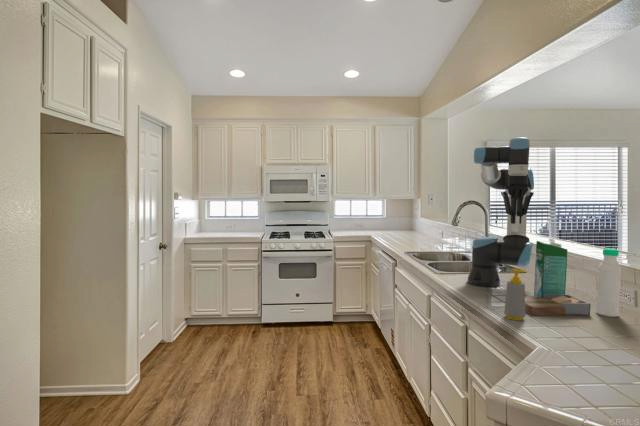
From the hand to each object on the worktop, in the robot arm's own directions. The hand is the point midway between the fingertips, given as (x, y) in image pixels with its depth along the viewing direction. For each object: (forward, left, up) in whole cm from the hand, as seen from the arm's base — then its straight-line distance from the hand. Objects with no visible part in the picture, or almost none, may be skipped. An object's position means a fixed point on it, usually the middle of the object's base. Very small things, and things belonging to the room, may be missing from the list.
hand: (515, 231), depth 164 cm
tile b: (+13, +16, -26) cm, 33 cm away
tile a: (+13, +13, -27) cm, 33 cm away
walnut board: (+13, +4, -29) cm, 32 cm away
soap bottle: (+24, -11, -30) cm, 40 cm away
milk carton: (-1, +16, -30) cm, 34 cm away
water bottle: (+18, +27, -30) cm, 44 cm away
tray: (+13, +15, -29) cm, 35 cm away
